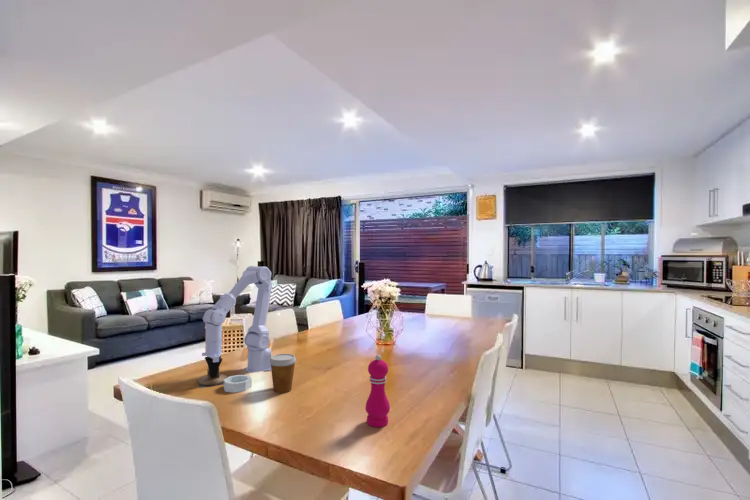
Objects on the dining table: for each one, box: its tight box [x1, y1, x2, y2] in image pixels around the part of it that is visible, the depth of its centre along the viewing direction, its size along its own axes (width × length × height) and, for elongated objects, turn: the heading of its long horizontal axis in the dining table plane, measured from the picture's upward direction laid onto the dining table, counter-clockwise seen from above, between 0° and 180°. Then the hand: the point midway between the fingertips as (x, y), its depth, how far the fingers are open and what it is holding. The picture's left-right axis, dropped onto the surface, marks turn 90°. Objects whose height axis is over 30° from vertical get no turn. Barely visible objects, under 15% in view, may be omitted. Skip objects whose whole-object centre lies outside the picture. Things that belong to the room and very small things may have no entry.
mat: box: [197, 379, 224, 389], centre depth 140 cm, size 10×10×1 cm
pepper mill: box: [365, 354, 391, 428], centre depth 109 cm, size 7×7×20 cm
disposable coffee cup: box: [269, 353, 297, 394], centre depth 134 cm, size 10×10×12 cm
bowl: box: [223, 374, 253, 394], centre depth 134 cm, size 9×9×4 cm
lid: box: [198, 368, 228, 386], centre depth 140 cm, size 10×10×4 cm
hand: (213, 376), depth 140 cm, fingers closed on lid, 2 cm apart
